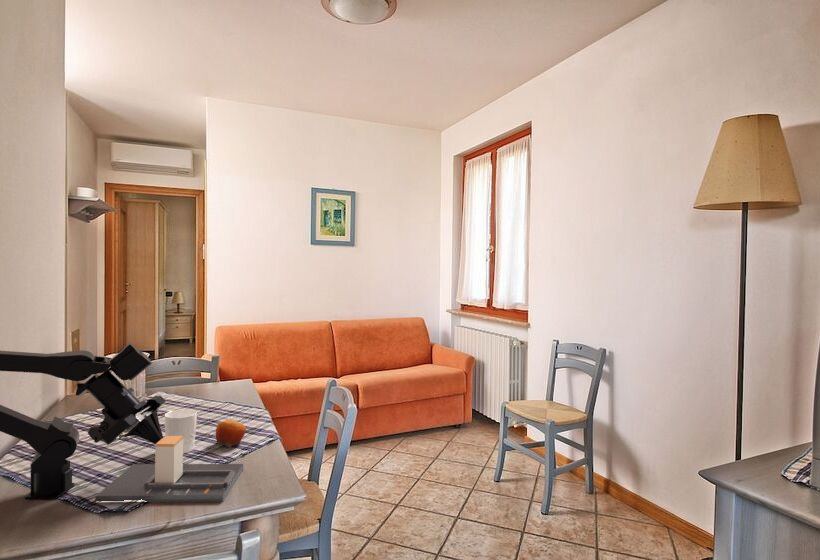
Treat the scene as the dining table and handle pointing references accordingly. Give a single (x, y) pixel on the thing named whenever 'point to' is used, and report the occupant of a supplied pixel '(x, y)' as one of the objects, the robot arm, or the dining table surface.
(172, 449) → the fader cap
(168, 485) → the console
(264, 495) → the dining table surface
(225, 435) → the fruit
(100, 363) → the robot arm
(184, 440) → the white cup
